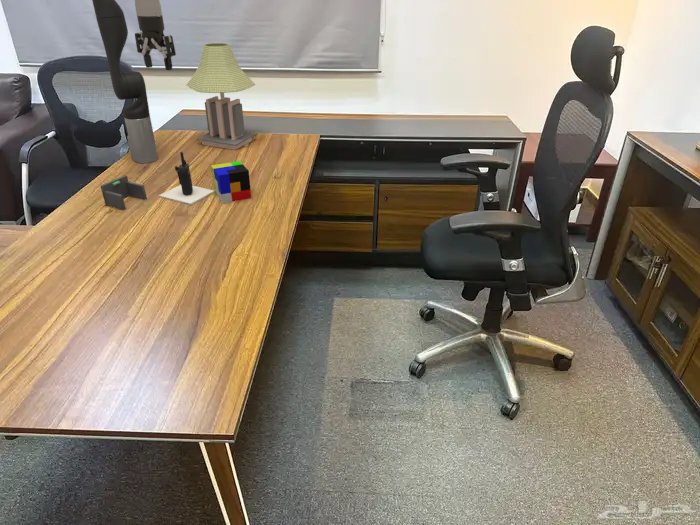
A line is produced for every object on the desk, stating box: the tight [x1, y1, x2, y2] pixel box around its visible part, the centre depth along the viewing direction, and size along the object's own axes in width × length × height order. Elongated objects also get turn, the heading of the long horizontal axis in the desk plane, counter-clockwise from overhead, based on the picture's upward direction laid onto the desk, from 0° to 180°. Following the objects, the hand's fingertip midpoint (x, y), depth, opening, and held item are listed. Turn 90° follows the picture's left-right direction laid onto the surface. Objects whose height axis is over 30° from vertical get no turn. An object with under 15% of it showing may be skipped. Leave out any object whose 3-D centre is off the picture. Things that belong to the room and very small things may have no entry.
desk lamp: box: [185, 42, 258, 151], centre depth 206 cm, size 26×28×40 cm
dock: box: [99, 175, 148, 211], centre depth 161 cm, size 8×10×7 cm
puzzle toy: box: [210, 160, 252, 204], centre depth 166 cm, size 10×10×10 cm
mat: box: [158, 184, 215, 206], centre depth 168 cm, size 14×12×1 cm
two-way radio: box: [174, 151, 193, 195], centre depth 164 cm, size 6×4×15 cm
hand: (159, 68), depth 162 cm, fingers open, 8 cm apart
